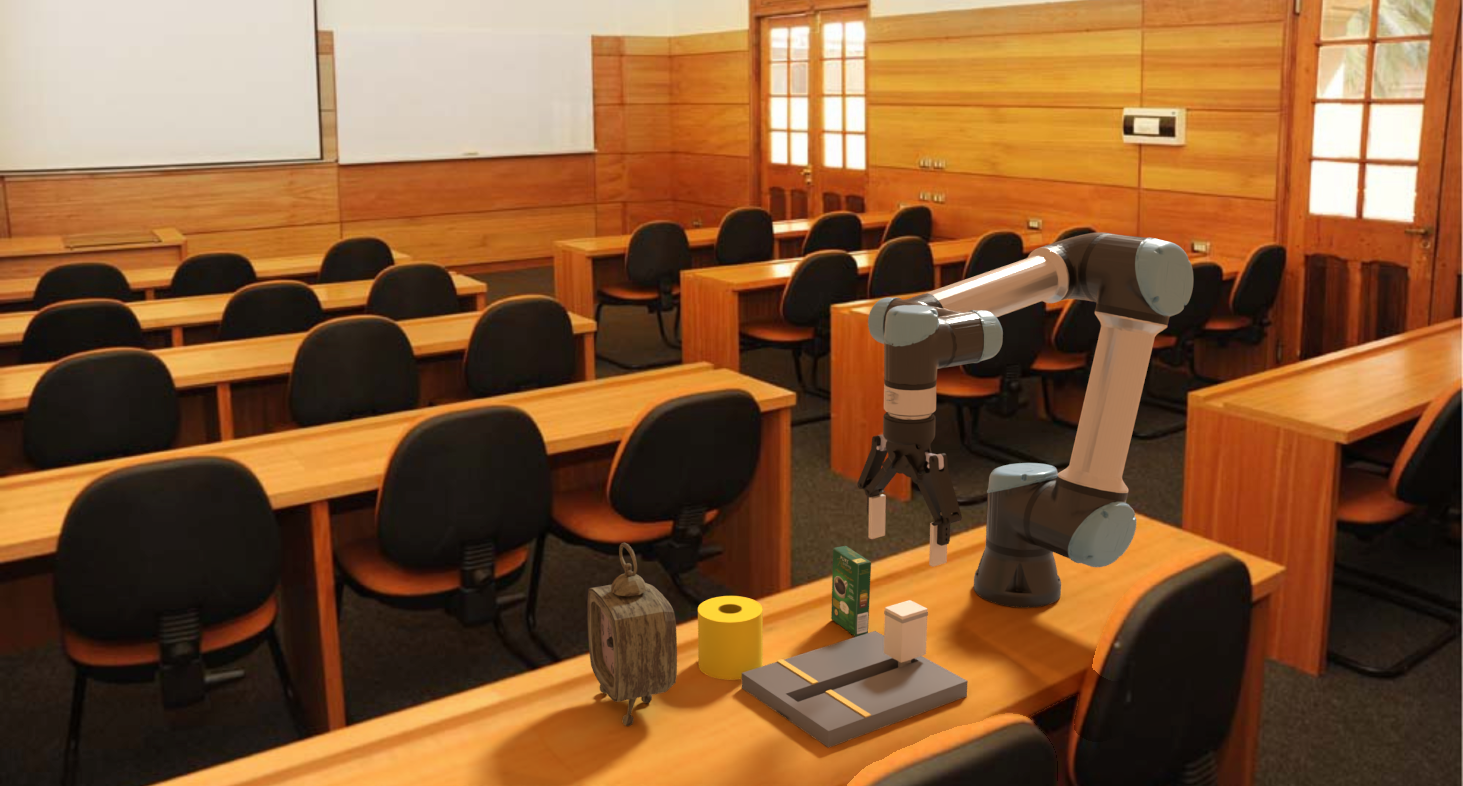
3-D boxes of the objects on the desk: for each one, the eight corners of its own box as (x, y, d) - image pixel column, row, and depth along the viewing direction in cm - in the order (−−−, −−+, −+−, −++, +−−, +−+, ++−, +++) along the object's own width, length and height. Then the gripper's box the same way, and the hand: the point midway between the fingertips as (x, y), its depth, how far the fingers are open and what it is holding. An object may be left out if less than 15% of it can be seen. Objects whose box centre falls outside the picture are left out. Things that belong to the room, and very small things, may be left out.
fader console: (874, 645, 204) (875, 629, 204) (966, 696, 187) (967, 679, 187) (741, 688, 190) (741, 671, 189) (828, 747, 173) (828, 729, 173)
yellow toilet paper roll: (772, 657, 200) (772, 602, 198) (746, 684, 191) (746, 626, 189) (715, 646, 204) (715, 591, 202) (687, 672, 195) (686, 615, 193)
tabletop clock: (589, 690, 190) (584, 533, 184) (646, 678, 193) (643, 524, 187) (620, 734, 177) (615, 567, 171) (680, 721, 180) (678, 557, 174)
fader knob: (907, 660, 197) (909, 599, 194) (925, 670, 194) (928, 608, 191) (882, 669, 194) (884, 607, 192) (900, 679, 191) (902, 616, 188)
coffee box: (870, 635, 208) (872, 560, 205) (855, 638, 207) (857, 563, 203) (844, 617, 215) (846, 544, 212) (830, 620, 214) (831, 547, 210)
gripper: (835, 399, 192) (834, 531, 197) (950, 436, 172) (946, 582, 177) (873, 391, 196) (871, 521, 201) (990, 427, 176) (984, 570, 181)
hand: (906, 550), depth 189 cm, fingers open, 13 cm apart
